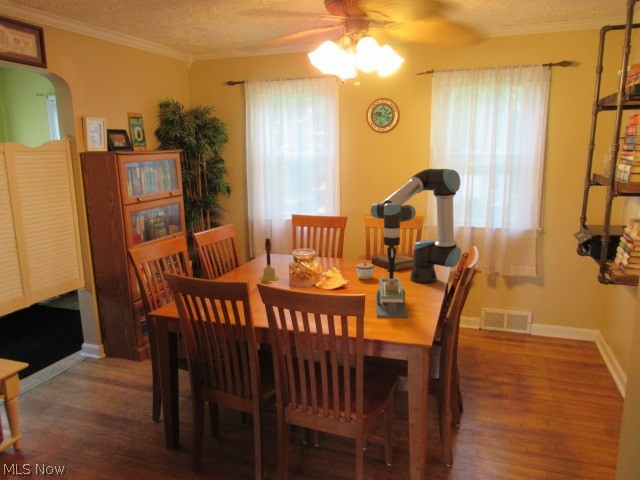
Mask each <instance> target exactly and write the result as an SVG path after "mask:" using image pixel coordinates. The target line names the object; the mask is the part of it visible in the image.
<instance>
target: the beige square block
mask: <svg viewBox="0 0 640 480" xmlns="http://www.w3.org/2000/svg"><path fill="white" fill-rule="evenodd" d="M398 290H399V285H398V282H395V281H385V295H390V296H398Z"/></svg>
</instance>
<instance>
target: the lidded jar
mask: <svg viewBox="0 0 640 480" xmlns="http://www.w3.org/2000/svg"><path fill="white" fill-rule="evenodd" d="M355 268H356V269H355V270H356V273H357V276H358V277H359V278H360V280H361V279H362V280H369V279H371V278H372V277H373V275H374V272H375V265H374V264H372V263H369V262H360V263H357V264H356V266H355Z"/></svg>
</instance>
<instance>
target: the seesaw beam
mask: <svg viewBox="0 0 640 480" xmlns="http://www.w3.org/2000/svg"><path fill="white" fill-rule="evenodd" d="M385 281H388V278H384V277H383V278H381V277H380V278H379V288H380V294H381V302H403V299H404V296H403V292H402V290H403V289H402V283H401V279H400V278H394V281H395V282H398V285H399V290H398V296H390V295H385Z"/></svg>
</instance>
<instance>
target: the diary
mask: <svg viewBox="0 0 640 480" xmlns="http://www.w3.org/2000/svg"><path fill="white" fill-rule="evenodd" d="M370 264H373V265H374V266H378V267H380V268H384V269H387V270H388V269H389V268H388V265H389V258H388V253H385V254H378V255H373V256H372V257H371V263H370ZM413 267H414V257H410V256H406V255H403V254H399V253H397V252H396V253H395V265H394V269H395V271H394V272H397V271H402V270H408V269H413Z"/></svg>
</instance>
